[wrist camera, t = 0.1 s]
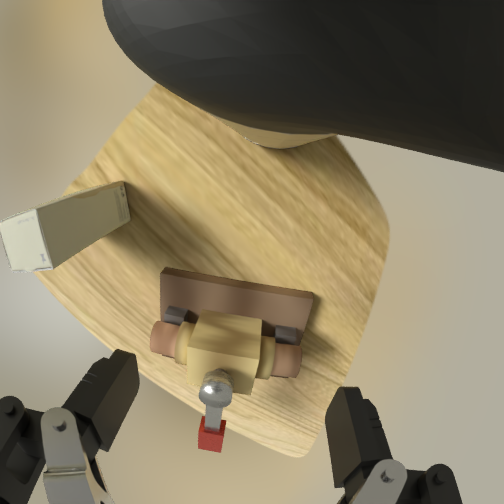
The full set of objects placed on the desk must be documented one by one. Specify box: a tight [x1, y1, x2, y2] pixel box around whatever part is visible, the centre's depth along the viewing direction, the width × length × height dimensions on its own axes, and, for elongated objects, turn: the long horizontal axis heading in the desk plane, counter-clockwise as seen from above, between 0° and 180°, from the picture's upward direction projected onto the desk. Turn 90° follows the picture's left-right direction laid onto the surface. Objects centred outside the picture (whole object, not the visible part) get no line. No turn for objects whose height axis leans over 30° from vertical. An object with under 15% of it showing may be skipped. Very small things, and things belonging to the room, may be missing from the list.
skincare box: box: [0, 181, 131, 272], centre depth 20 cm, size 6×4×12 cm
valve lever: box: [198, 371, 234, 452], centre depth 22 cm, size 11×3×2 cm, turn 171°
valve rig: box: [150, 267, 314, 395], centre depth 25 cm, size 15×11×8 cm
